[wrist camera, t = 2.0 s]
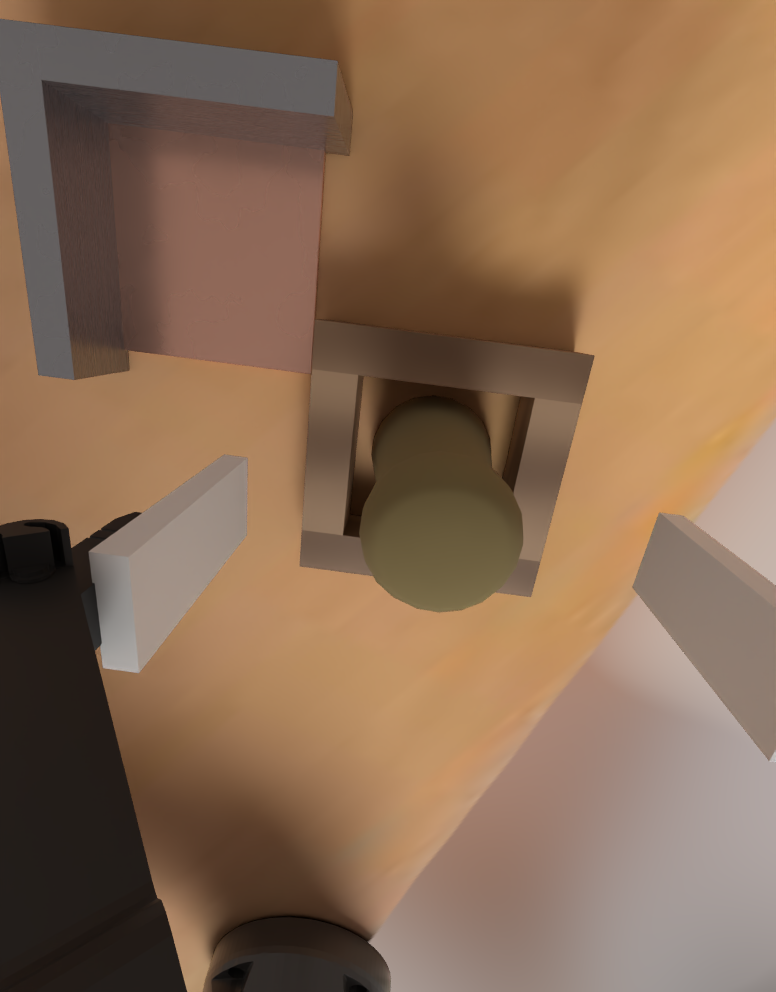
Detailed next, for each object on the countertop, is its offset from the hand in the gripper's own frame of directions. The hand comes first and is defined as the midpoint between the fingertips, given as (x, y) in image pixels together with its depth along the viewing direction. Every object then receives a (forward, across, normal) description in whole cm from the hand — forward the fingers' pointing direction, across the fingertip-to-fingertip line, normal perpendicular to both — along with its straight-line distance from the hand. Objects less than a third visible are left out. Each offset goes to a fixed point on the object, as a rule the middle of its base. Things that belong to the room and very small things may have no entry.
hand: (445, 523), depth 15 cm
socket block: (+9, 0, 0) cm, 9 cm away
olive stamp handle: (+9, 0, 0) cm, 9 cm away
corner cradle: (+9, +11, -8) cm, 16 cm away
